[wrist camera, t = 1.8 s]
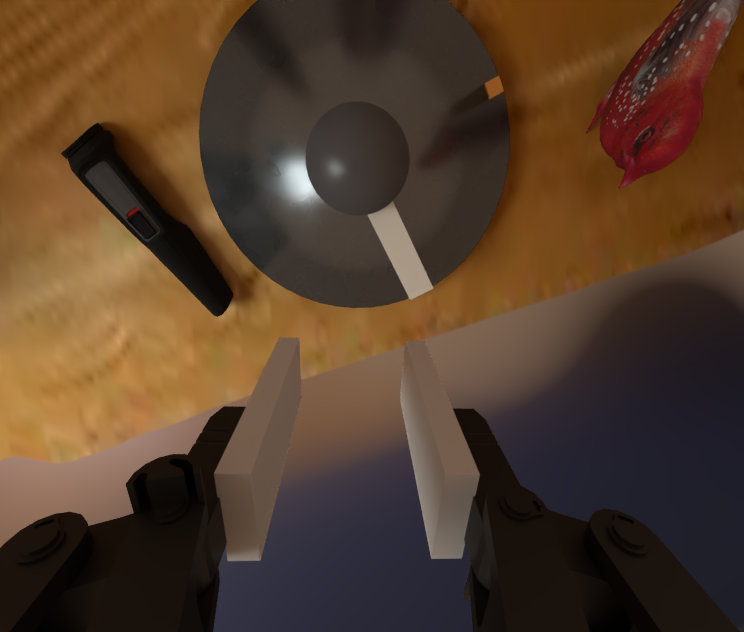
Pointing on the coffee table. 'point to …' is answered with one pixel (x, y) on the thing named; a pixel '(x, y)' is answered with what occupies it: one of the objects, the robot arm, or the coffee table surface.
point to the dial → (366, 178)
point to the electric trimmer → (146, 217)
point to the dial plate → (334, 87)
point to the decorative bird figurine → (664, 88)
